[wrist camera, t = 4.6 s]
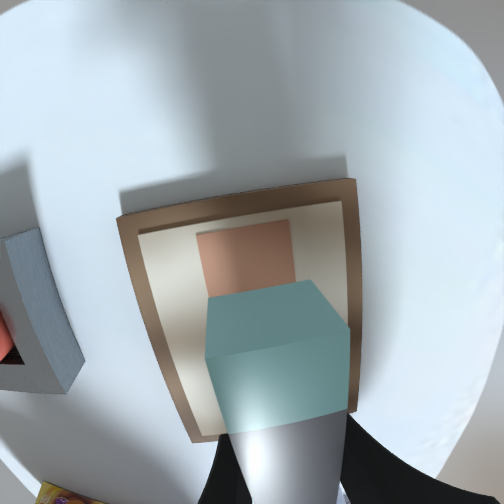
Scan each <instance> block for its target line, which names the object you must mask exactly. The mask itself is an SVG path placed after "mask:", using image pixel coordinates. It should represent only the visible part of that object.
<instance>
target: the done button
mask: <svg viewBox="0 0 504 504" xmlns="http://www.w3.org/2000/svg"><path fill="white" fill-rule="evenodd" d="M14 346H15V343H14V341H13V339H12V336H11V334H10V332H9V329H8V327H7V325H6V322H5V320H4V318H3V315H2V312H1V310H0V361H1V360H2V359H3V358H4V357H5V356H6V354H7V353H8V352H9V351H10V350H11V349H12V348H13V347H14Z"/></svg>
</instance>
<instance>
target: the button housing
mask: <svg viewBox="0 0 504 504" xmlns="http://www.w3.org/2000/svg"><path fill="white" fill-rule="evenodd" d="M0 310H1V312H2V315H3V318H4V320H5V322H6V325H7V327H8V329H9V332H10V334H11V336H12V339H13V341H14V343H15V346H14V347H13V348H12V349H11V350H10V351H9V352H8V353H7V354H6V356H5V357H4V358H3V359H2V360H1V361H0V390H8V391H18V392H30V393H46V394H67V392H68V391H69V389H70V387H71V385H72V383H73V382H74V380H75V378H76V376H77V375H78V373H79V371H80V369H81V368H82V366H83V364H84V363H85V360H84V357H83V355H82V353H81V351H80V349H79V346H78V344H77V342H76V339H75V337H74V334H73V332H72V330H71V327H70V325H69V322H68V319H67V317H66V314H65V312H64V309H63V306H62V303H61V301H60V298H59V295H58V292H57V289H56V286H55V283H54V280H53V276H52V273H51V270H50V267H49V263H48V260H47V256H46V252H45V249H44V245H43V241H42V237H41V233H40V229H39V227H38V228H34V229H31V230H28V231H24V232H21V233H18V234H15V235H11V236H8V237H5V238H2V239H0Z"/></svg>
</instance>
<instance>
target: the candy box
mask: <svg viewBox="0 0 504 504" xmlns="http://www.w3.org/2000/svg"><path fill="white" fill-rule="evenodd" d="M35 504H106V503H102V502H99V501H96V500H93V499H89V498H86V497H83V496H80V495H77V494H75V493H72V492H69V491H67V490H64V489H61V488H59V487H56V486H54V485H51V484H49V483H47V482H44V481H43V483H42V486H41V488H40V491H39V494H38V497H37V500H36V503H35Z"/></svg>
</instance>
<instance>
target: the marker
mask: <svg viewBox="0 0 504 504" xmlns="http://www.w3.org/2000/svg"><path fill="white" fill-rule="evenodd" d="M205 362H206V365H207V369H208V372H209V375H210V379H211V382H212V385H213V389H214V392H215V395H216V398H217V401H218V405H219V408H220V411H221V414H222V417H223V420H224V423H225V426H226V429H227V432H228V435H229V438H230V441H231V443H232V446H233V449H234V452H235V455H236V458H237V460H238V463H239V466H240V468H241V471H242V474H243V476H244V479H245V482H246V484H247V487H248V489H249V492H250V494H251V497H252V499H253V502H254V504H336V503H337V497H338V490H339V483H340V476H341V469H342V461H343V452H344V442H345V432H346V420H347V407H348V391H349V368H350V328H349V327H348V326H347V325H346V323H345V322H344V321H343V319H342V318H341V317H340V316H339V314H338V313H337V312H336V311H335V309H334V308H333V307H332V306H331V304H330V303H329V302H328V300H327V299H326V298H325V297H324V295H323V294H322V293H321V292H320V290H319V289H318V288H317V287H316V285H315V284H314V283H313V282H312V280H311V279H309V280H304V281H299V282H294V283H289V284H283V285H278V286H273V287H267V288H262V289H256V290H251V291H245V292H239V293H234V294H228V295H222V296H216V297H210V298H208V308H207V323H206V341H205Z"/></svg>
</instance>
